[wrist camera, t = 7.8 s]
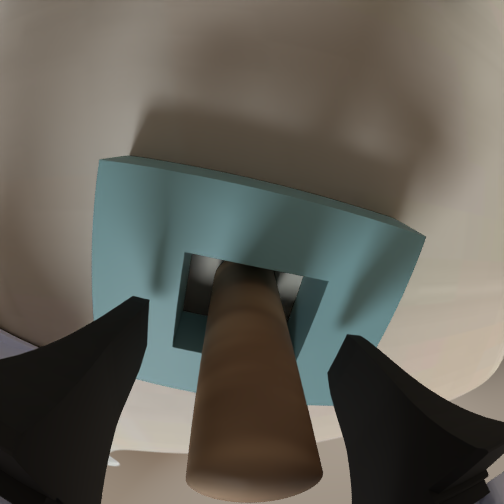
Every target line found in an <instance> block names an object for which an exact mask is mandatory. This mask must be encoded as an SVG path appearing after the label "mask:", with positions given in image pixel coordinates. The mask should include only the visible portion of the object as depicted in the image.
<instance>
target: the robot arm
mask: <svg viewBox="0 0 504 504" xmlns="http://www.w3.org/2000/svg"><path fill="white" fill-rule="evenodd" d="M149 302H150V300H149V299H144V298H140V297H136V296H132V297H130V298H129V299H127V300H126V301H124V302H123V303H121V304H120V305H118V306H117V307H115V308H114V309H112V310H111V311H109V312H107V313H106V314H104V315H103V316H101V317H100V318H98V319H97V320H95V321H93V322H92V323H90V324H88V325H86V326H85V327H83V328H81V329H79V330H77V331H76V332H74V333H72V334H70V335H68V336H66V337H64V338H62V339H60V340H57V341H55V342H53V343H50V344H48V345H46V346H43V347H40V348H39V347H37V346H34V345H32V344H30V343H28V342H26V341H23V340H21V339H19V338H17V337H15V336H13V335H11V334H9V333H7V332H5V331H3V330H1V329H0V504H101V499H102V491H103V485H104V479H105V473H106V468H107V463H108V458H109V454H110V449H111V445H112V441H113V437H114V433H115V430H116V426H117V423H118V420H119V417H120V415H121V412H122V410H123V407H124V405H125V403H126V400H127V398H128V396H129V393H130V391H131V389H132V386H133V384H134V382H135V379H136V377H137V375H138V373H139V370H140V368H141V364H142V361H143V358H144V354H145V351H146V348H147V339H148V317H149ZM327 375H328V383H329V389H330V395H331V399H332V402H333V405H334V409H335V412H336V415H337V418H338V422H339V425H340V428H341V431H342V435H343V438H344V441H345V445H346V449H347V455H348V462H349V469H350V478H351V489H352V504H504V472H502V473H501V474H499V475H498V476H497V477H495V478H494V479H492V480H491V481H489V482H488V483H487V484H486V483H485V480H484V479H485V478H486V477H488V472H487V470H486V469H487V468H488V467H489V466H491V465H492V464H493V463H494V462H495V461H496V460H497V459H498V458H499V457H500V456H501V455H502V454H504V422H501V421H497V420H494V419H490V418H486V417H483V416H481V415H478V414H475V413H473V412H470V411H468V410H465V409H463V408H461V407H459V406H457V405H455V404H453V403H451V402H449V401H447V400H446V399H444V398H442V397H440V396H439V395H437V394H436V393H434V392H433V391H431V390H429V389H428V388H426V387H425V386H424V385H422V384H421V383H419V382H418V381H417V380H415V379H414V378H413V377H411V376H410V375H409V374H408V373H406V372H405V371H404V370H403V369H401V368H400V367H399V366H398V365H397V364H395V363H394V362H393V361H392V360H391V359H390V358H388V357H387V356H386V355H385V354H384V353H382V352H381V351H380V350H379V349H378V348H377V347H375V346H374V345H373V344H372V343H370V342H369V341H368V340H366V339H365V338H363V337H362V336H360V335H351V334H347V335H346V337H345V339H344V341H343V343H342V345H341V347H340V349H339V351H338V353H337V355H336V357H335V359H334V361H333V363H332V365H331V367H330V369H329V370H328V372H327Z"/></svg>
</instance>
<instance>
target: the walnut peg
mask: <svg viewBox="0 0 504 504" xmlns="http://www.w3.org/2000/svg"><path fill="white" fill-rule="evenodd" d="M186 472H187V473H186V482H187V484H188V485H189V486H190V487H191V488H192V489H193V490H195V491H196V492H198V493H200V494H202V495H205V496H208V497H211V498H214V499H219V500H225V501H231V502H249V503H251V502H266V501H274V500H279V499H284V498H288V497H291V496H294V495H297V494H300V493H302V492H304V491H306V490H308V489H310V488H311V487H313V486H315V485H316V484H317V483H318V482H319V481H320V480H321V478H322V476H323V471H322V467H321V462H320V458H319V453H318V449H317V445H316V440H315V436H314V432H313V428H312V424H311V419H310V415H309V411H308V407H307V403H306V399H305V394H304V390H303V386H302V382H301V378H300V374H299V370H298V366H297V362H296V358H295V354H294V350H293V346H292V342H291V338H290V334H289V330H288V326H287V322H286V318H285V314H284V310H283V307H282V303H281V299H280V295H279V291H278V287H277V283H276V280H275V276H274V273H273V271H272V270H270V269H265V268H260V267H255V266H250V265H245V264H240V263H235V262H230V261H224V262H223V263H222V264H221V265H220V266H219V268H218V269H217V271H216V273H215V277H214V282H213V288H212V293H211V299H210V305H209V311H208V317H207V324H206V330H205V336H204V343H203V349H202V356H201V362H200V369H199V376H198V383H197V390H196V398H195V405H194V413H193V420H192V428H191V436H190V445H189V453H188V463H187V471H186Z"/></svg>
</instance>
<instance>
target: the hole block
mask: <svg viewBox="0 0 504 504" xmlns="http://www.w3.org/2000/svg"><path fill="white" fill-rule="evenodd" d="M425 239H426V236H424V235H422V234H421V233H419V232H417V231H415V230H414V229H412V228H410V227H408V226H407V225H405V224H403V223H401V222H400V221H398V220H396V219H394V218H391V217H388V216H385V215H382V214H379V213H376V212H373V211H370V210H367V209H363V208H360V207H357V206H354V205H350V204H347V203H344V202H340V201H337V200H333V199H330V198H326V197H323V196H319V195H315V194H312V193H308V192H304V191H301V190H297V189H293V188H289V187H285V186H281V185H277V184H273V183H269V182H265V181H260V180H256V179H252V178H247V177H243V176H239V175H234V174H229V173H225V172H220V171H215V170H210V169H205V168H200V167H195V166H189V165H184V164H178V163H173V162H167V161H161V160H155V159H149V158H142V157H136V156H121V157H114V158H107V159H100V160H99V167H98V174H97V182H96V192H95V202H94V215H93V232H92V299H93V316H94V321H95V320H97V319H98V318H100V317H101V316H103V315H104V314H106V313H107V312H109V311H111V310H112V309H114V308H115V307H117V306H118V305H120V304H121V303H123V302H124V301H126V300H127V299H129V298H130V297H132V296H136V297H140V298H144V299H149V300H150V302H149V317H148V339H147V348H146V351H145V354H144V358H143V361H142V364H141V368H140V370H139V373H138V375H137V377H136V379H138V380H142V381H146V382H150V383H154V384H158V385H162V386H167V387H171V388H176V389H180V390H185V391H190V392H196V390H197V383H198V376H199V369H200V362H201V356H202V349H203V343H204V336H205V330H206V324H207V317H208V316H205V315H200V314H196V313H191V312H186V311H183V307H184V300H185V294H186V287H187V281H188V274H189V268H190V262H191V256H192V254H197V255H201V256H206V257H211V258H216V259H221V260H226V261H230V262H235V263H240V264H245V265H250V266H255V267H260V268H265V269H270V270H275V271H280V272H285V273H290V274H295V275H300V276H304V277H303V280H302V283H301V285H300V288H299V291H298V294H297V297H296V300H295V303H294V306H293V308H292V311H291V314H290V317H289V320H288V322H287V326H288V330H289V334H290V338H291V342H292V346H293V350H294V354H295V358H296V362H297V366H298V370H299V374H300V378H301V382H302V386H303V390H304V394H305V399H306V403H307V405H323V406H334V405H333V402H332V399H331V395H330V389H329V383H328V375H327V372H328V370H329V369H330V367H331V365H332V363H333V361H334V359H335V357H336V355H337V353H338V351H339V349H340V347H341V345H342V343H343V341H344V339H345V337H346V335H347V334H351V335H360V336H362V337H363V338H365V339H366V340H368V341H369V342H370V343H372V344H373V345H374V346H375V347H377V345H378V343H379V342H380V340H381V338H382V336H383V334H384V332H385V330H386V328H387V326H388V324H389V322H390V320H391V318H392V316H393V314H394V312H395V310H396V308H397V306H398V304H399V302H400V300H401V298H402V295H403V293H404V291H405V289H406V286H407V284H408V282H409V279H410V277H411V275H412V272H413V270H414V267H415V265H416V263H417V260H418V257H419V255H420V252H421V250H422V247H423V244H424V242H425Z"/></svg>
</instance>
